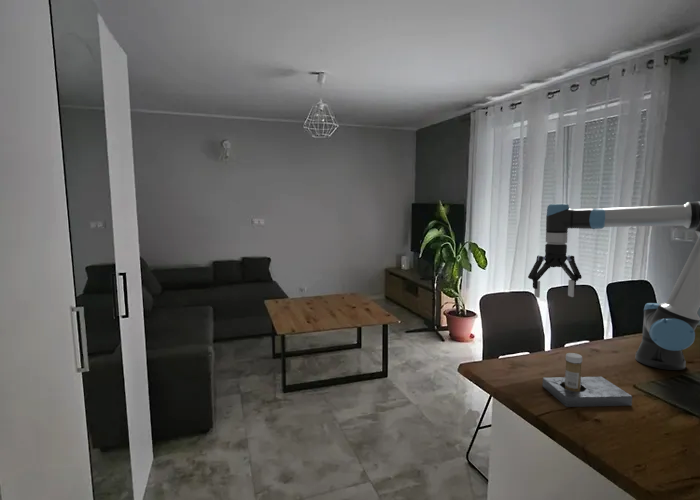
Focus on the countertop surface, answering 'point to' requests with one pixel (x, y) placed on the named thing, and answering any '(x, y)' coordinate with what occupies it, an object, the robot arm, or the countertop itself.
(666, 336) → the robot arm
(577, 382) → the sprinkles bottle
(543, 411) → the countertop surface
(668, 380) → the countertop surface
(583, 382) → the jig
